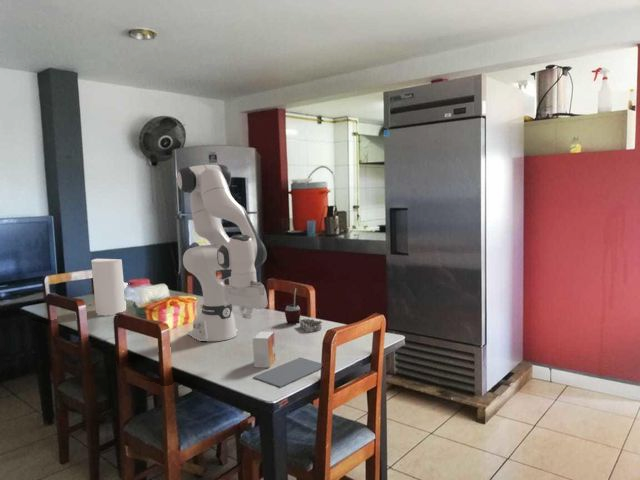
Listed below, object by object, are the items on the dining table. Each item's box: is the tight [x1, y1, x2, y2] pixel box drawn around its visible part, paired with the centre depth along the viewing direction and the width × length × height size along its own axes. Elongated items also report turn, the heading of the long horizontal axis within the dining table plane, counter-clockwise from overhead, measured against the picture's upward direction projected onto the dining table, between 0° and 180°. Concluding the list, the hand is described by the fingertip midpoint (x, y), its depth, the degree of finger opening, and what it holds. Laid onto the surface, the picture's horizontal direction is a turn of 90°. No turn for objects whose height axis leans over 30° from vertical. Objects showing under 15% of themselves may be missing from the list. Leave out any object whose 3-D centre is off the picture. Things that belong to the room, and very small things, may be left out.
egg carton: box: [299, 318, 323, 333], centre depth 212 cm, size 11×8×4 cm
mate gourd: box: [284, 288, 302, 326], centre depth 221 cm, size 8×8×15 cm
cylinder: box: [90, 258, 129, 314], centre depth 256 cm, size 17×17×28 cm
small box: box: [252, 331, 277, 369], centre depth 172 cm, size 8×6×10 cm
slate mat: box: [252, 356, 322, 388], centre depth 164 cm, size 13×22×1 cm, turn 138°
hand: (246, 318), depth 176 cm, fingers closed
